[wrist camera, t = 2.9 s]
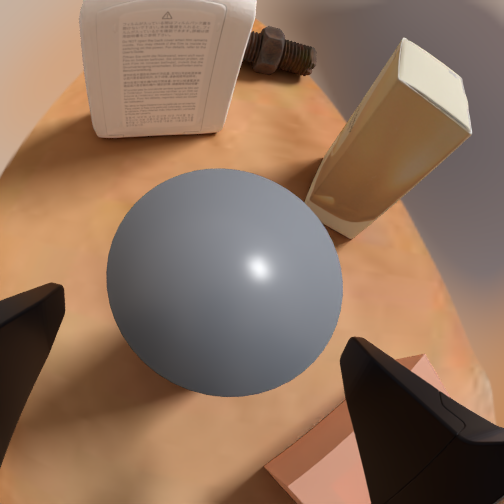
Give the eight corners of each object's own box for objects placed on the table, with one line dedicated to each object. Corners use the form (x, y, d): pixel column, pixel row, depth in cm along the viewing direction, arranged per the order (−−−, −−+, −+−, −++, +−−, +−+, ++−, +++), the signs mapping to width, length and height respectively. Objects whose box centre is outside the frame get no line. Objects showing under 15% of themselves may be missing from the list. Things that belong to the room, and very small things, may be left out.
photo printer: (222, 100, 24) (259, -35, 13) (230, 137, 23) (276, -14, 12) (96, 106, 21) (85, -35, 10) (90, 146, 20) (65, -12, 9)
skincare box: (323, 155, 24) (402, 32, 13) (369, 182, 24) (462, 75, 13) (297, 215, 21) (397, 74, 10) (352, 245, 22) (476, 133, 11)
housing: (348, 553, 13) (380, 575, 9) (263, 466, 15) (287, 486, 11) (444, 455, 17) (482, 459, 13) (384, 361, 19) (424, 353, 15)
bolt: (299, 93, 30) (152, 67, 26) (303, 54, 29) (163, 27, 26) (323, 73, 24) (147, 40, 21) (326, 30, 24) (162, -4, 20)
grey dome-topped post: (182, 400, 15) (198, 446, 5) (135, 328, 16) (69, 229, 5) (252, 354, 17) (380, 303, 6) (205, 286, 18) (257, 142, 7)
